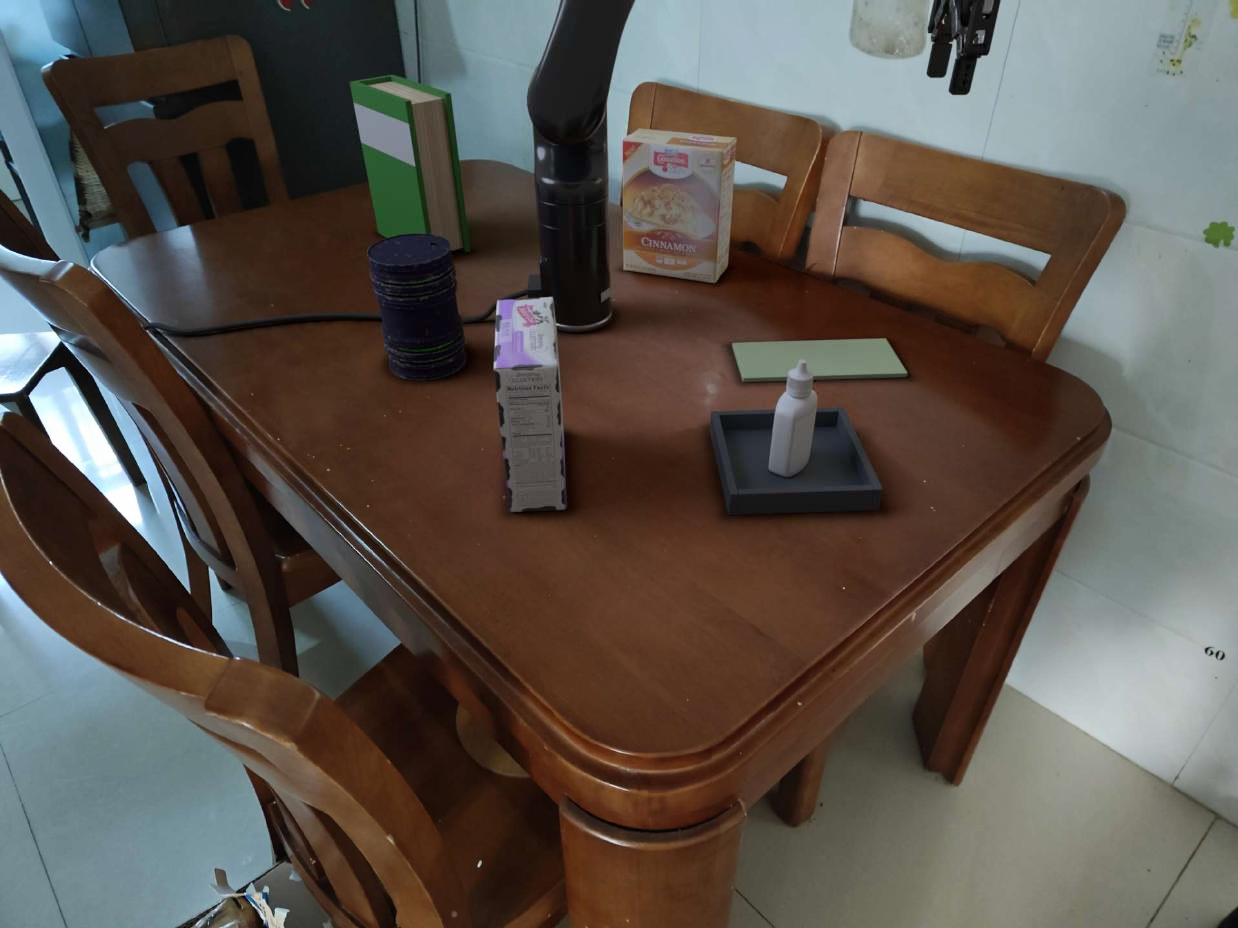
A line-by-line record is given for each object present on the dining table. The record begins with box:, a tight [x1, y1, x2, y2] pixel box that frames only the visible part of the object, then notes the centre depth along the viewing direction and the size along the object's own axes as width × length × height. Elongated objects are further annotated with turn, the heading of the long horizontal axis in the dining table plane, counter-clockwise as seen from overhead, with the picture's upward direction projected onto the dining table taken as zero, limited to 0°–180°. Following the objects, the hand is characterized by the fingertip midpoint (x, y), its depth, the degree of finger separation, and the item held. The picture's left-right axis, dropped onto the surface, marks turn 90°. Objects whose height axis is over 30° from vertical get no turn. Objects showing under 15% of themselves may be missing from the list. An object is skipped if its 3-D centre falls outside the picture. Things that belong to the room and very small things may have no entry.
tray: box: [709, 406, 884, 516], centre depth 85 cm, size 15×15×3 cm
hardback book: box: [349, 74, 472, 254], centre depth 131 cm, size 18×7×24 cm, turn 40°
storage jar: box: [366, 233, 467, 382], centre depth 100 cm, size 10×10×15 cm
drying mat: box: [731, 337, 908, 383], centre depth 103 cm, size 20×9×1 cm, turn 92°
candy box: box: [493, 297, 568, 513], centre depth 81 cm, size 14×6×16 cm, turn 5°
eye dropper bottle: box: [769, 359, 819, 477], centre depth 82 cm, size 4×6×12 cm
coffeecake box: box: [622, 127, 738, 284], centre depth 122 cm, size 15×7×20 cm, turn 68°
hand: (946, 85), depth 97 cm, fingers open, 8 cm apart
